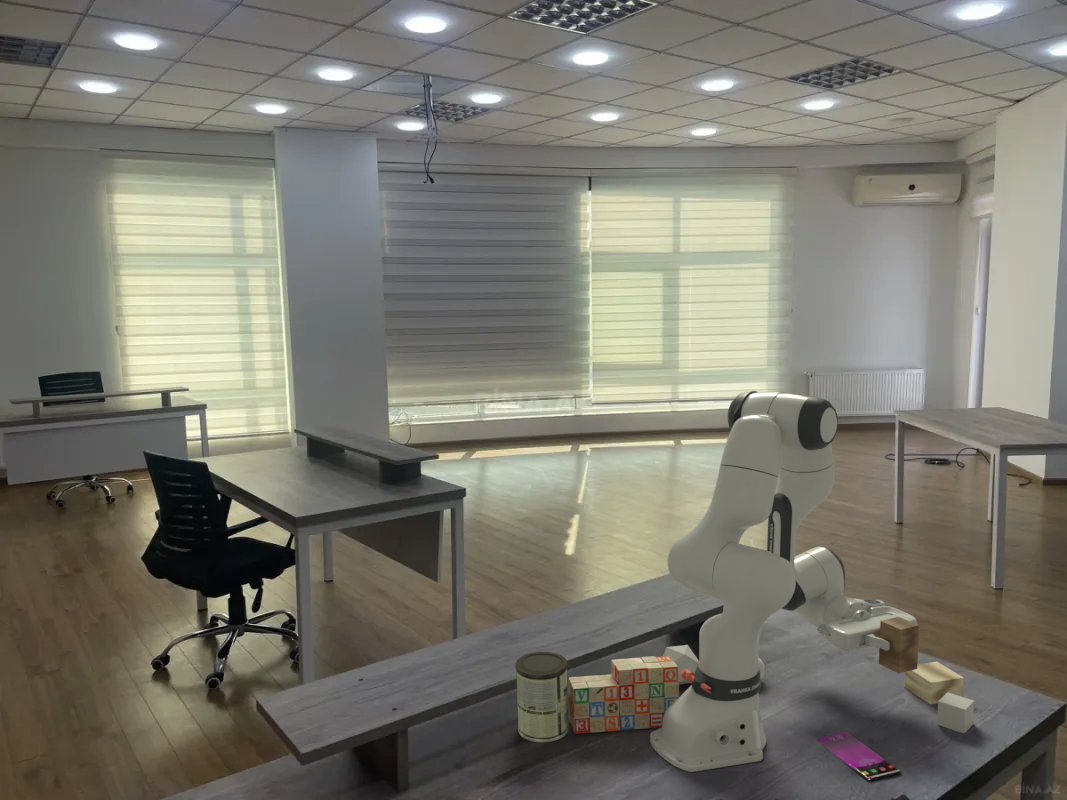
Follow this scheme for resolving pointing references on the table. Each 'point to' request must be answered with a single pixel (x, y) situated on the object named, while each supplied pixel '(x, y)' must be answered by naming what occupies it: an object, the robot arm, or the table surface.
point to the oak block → (933, 682)
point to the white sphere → (761, 667)
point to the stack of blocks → (624, 695)
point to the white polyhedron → (682, 660)
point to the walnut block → (899, 644)
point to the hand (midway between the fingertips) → (902, 643)
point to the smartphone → (858, 756)
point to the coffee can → (542, 696)
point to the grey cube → (955, 712)
